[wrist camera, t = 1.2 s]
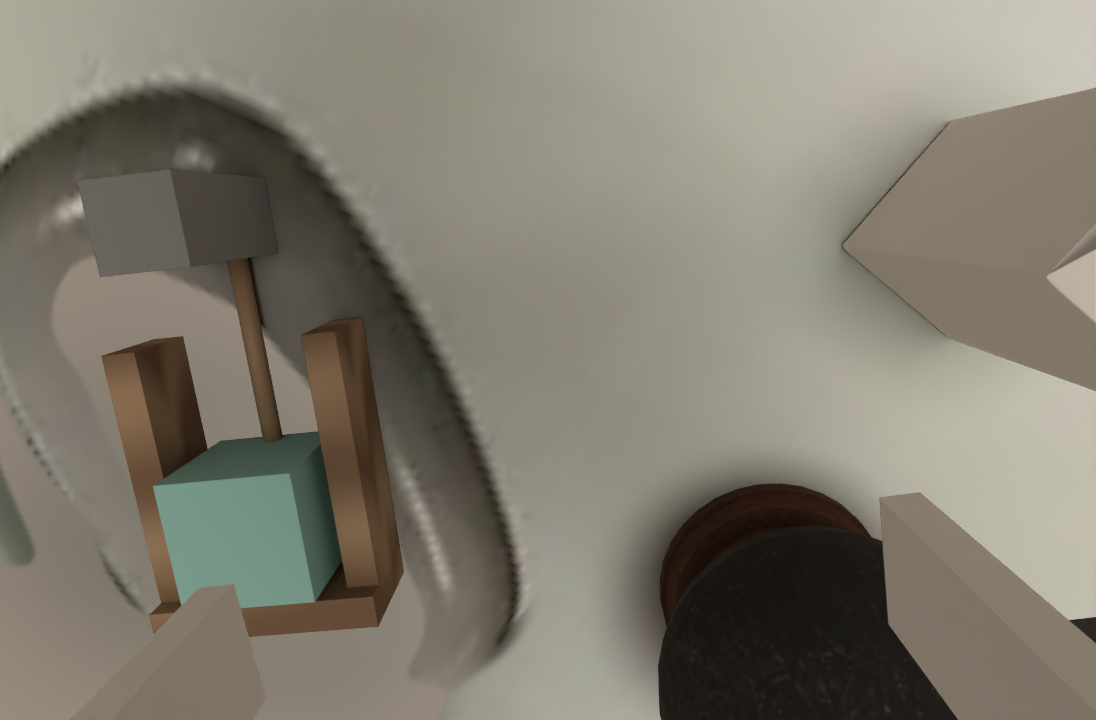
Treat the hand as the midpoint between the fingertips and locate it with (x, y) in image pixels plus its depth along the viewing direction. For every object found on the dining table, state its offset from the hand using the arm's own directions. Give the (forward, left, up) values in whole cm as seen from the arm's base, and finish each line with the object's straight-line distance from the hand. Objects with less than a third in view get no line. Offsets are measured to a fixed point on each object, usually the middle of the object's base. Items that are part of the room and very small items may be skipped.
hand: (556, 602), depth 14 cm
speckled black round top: (+12, +9, -21) cm, 26 cm away
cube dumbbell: (-1, -15, -21) cm, 26 cm away
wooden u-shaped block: (+2, -15, -21) cm, 26 cm away
